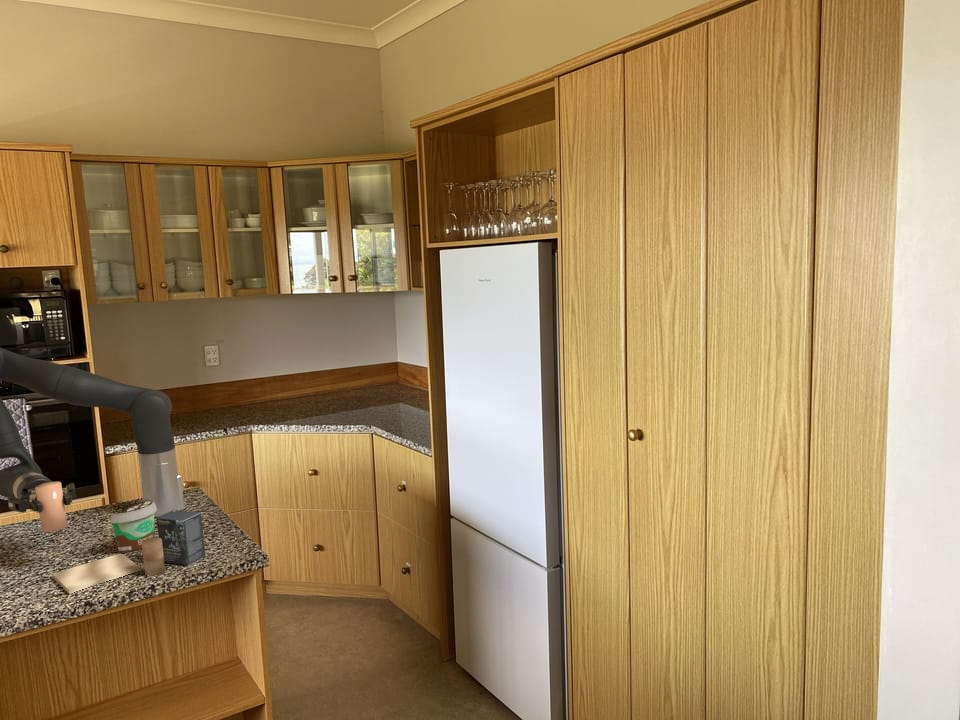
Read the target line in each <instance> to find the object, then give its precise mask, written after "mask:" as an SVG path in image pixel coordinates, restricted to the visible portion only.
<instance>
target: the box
mask: <svg viewBox="0 0 960 720" xmlns="http://www.w3.org/2000/svg"><path fill="white" fill-rule="evenodd" d="M202 520H203V517H202V512H198V511H188V510H175V509H174V510H172V511H170V512H168V513H165V514H163V515H161V516H159V517H156V525H157V533H158V534H157V535H158V538H161V539H162V545H163V554H164V563H170V564H175V565H177V564H178V565H181V566H182V565H184V566H187V567H189V566H191V565H192V564H194V563H196V562H198V561H200V560H202V559H203V558H205V557H206V549H205V540H204V539H205V538H204V529H203V528H204V526H203V521H202Z"/></svg>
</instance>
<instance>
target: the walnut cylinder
mask: <svg viewBox="0 0 960 720" xmlns="http://www.w3.org/2000/svg"><path fill="white" fill-rule="evenodd" d="M141 551H142V559H143V560H142V561H143V566H144V575H145V576H146V575H149V576H148V577H156V576H159V575H162V574H164V573H165V572H166V565H165V563H166V562H164V554H163V545H162V539H161V538H159V537H155V538H151V539H147V540H145V541H143V542H142V550H141ZM155 575H156V576H155Z"/></svg>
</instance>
